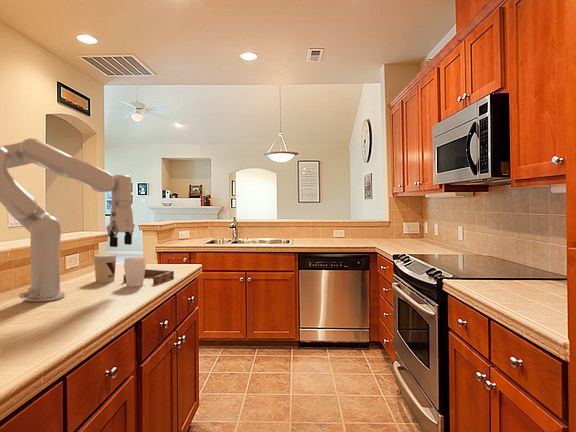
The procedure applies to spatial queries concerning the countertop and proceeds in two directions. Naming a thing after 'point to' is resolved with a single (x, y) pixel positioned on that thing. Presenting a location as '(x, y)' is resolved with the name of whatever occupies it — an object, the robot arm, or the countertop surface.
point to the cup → (134, 271)
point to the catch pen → (157, 275)
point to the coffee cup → (105, 267)
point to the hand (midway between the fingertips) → (121, 245)
